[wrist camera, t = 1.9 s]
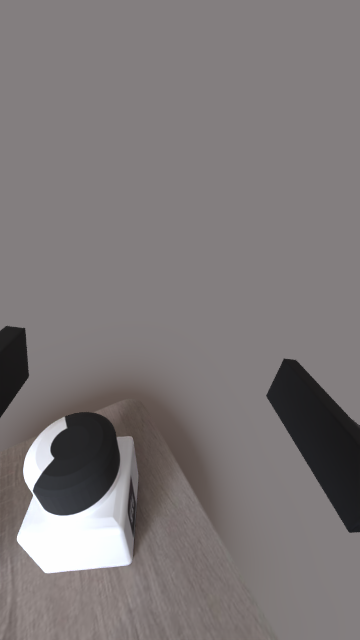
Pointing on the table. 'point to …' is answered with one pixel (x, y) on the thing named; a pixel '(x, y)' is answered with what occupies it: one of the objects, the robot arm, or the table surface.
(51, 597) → the table surface
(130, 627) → the table surface
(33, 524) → the container
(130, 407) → the table surface
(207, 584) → the table surface
